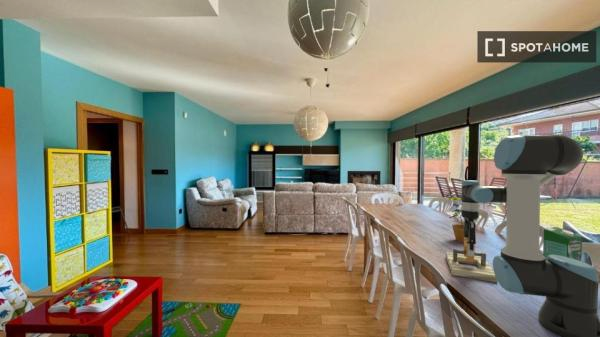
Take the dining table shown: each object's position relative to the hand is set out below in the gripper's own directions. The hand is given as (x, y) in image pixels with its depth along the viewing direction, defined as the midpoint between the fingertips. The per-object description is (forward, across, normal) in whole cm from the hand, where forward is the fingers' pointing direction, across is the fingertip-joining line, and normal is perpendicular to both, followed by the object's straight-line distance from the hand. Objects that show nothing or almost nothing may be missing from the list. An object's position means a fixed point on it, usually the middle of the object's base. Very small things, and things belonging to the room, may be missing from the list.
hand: (468, 252), depth 131 cm
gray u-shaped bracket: (+8, 0, 0) cm, 8 cm away
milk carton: (+8, -3, -35) cm, 36 cm away
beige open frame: (+8, 0, 0) cm, 8 cm away
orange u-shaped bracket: (+3, 0, 0) cm, 3 cm away
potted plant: (+9, +52, -5) cm, 53 cm away
